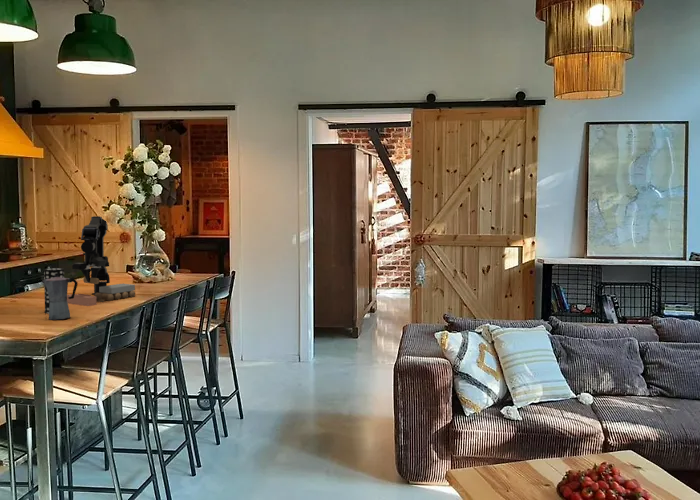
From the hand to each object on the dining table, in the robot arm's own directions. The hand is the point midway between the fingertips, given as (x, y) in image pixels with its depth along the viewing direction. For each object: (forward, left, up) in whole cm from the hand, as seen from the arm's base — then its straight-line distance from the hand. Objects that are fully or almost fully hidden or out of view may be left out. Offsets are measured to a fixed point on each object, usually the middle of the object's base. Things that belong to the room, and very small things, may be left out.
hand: (91, 281), depth 333 cm
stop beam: (0, -7, -10) cm, 12 cm away
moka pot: (+24, -38, -11) cm, 46 cm away
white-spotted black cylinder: (+9, -29, -11) cm, 32 cm away
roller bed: (0, +11, -10) cm, 15 cm away
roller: (0, 0, -1) cm, 1 cm away
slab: (0, +17, -7) cm, 18 cm away
